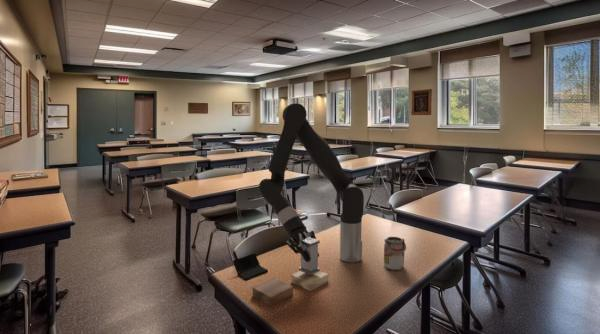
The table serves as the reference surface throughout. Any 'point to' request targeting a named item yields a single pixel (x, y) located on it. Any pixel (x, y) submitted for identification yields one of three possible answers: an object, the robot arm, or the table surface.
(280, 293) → the stand
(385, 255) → the beverage can
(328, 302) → the table surface
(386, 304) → the table surface
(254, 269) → the handheld gaming console
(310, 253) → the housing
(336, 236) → the table surface
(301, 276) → the stand
